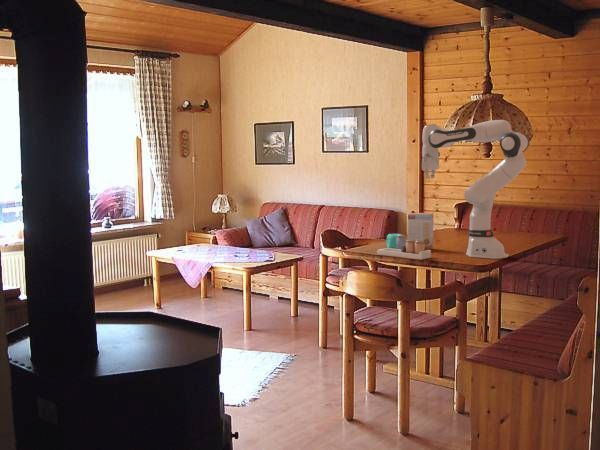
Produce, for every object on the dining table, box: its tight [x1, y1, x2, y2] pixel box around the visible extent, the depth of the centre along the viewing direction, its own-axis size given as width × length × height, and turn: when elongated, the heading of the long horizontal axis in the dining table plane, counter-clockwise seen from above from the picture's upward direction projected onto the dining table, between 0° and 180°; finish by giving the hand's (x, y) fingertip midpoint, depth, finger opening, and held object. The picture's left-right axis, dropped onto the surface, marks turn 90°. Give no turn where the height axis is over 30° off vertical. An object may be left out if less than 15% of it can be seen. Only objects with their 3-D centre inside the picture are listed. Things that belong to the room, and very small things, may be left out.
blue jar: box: [396, 234, 407, 249], centre depth 402 cm, size 5×5×9 cm
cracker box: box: [407, 212, 434, 251], centre depth 409 cm, size 14×6×21 cm, turn 70°
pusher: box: [401, 245, 406, 253], centre depth 385 cm, size 2×11×6 cm, turn 137°
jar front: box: [414, 241, 425, 254], centre depth 377 cm, size 5×5×9 cm
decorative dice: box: [386, 233, 402, 249], centre depth 414 cm, size 8×8×8 cm
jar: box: [406, 239, 416, 254], centre depth 381 cm, size 5×5×9 cm
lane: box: [376, 247, 432, 260], centre depth 384 cm, size 29×9×4 cm, turn 47°
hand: (430, 178), depth 396 cm, fingers open, 8 cm apart
